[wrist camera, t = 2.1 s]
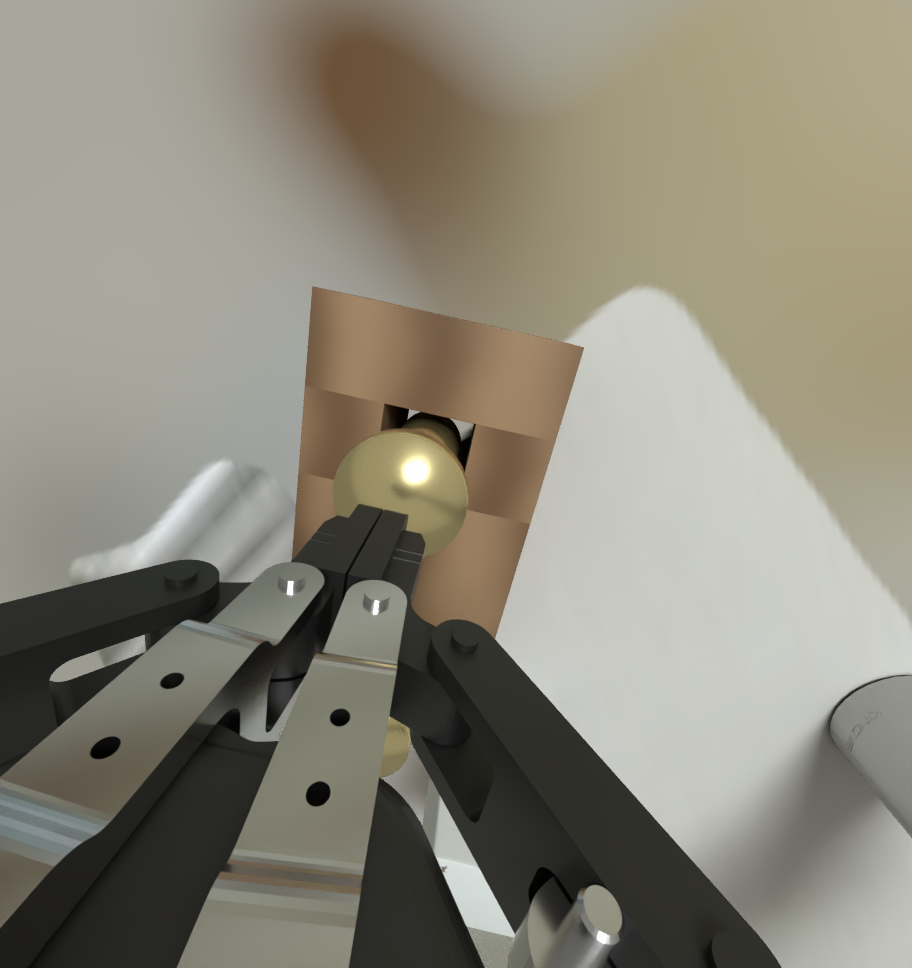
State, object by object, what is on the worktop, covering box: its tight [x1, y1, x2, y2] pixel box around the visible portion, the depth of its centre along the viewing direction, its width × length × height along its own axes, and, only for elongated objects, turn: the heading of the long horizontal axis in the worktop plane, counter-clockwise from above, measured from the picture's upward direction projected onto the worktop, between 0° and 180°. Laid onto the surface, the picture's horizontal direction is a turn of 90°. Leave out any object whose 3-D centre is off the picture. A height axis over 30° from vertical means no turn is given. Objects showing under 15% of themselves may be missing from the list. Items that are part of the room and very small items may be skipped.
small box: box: [422, 776, 515, 938], centre depth 31 cm, size 8×6×13 cm
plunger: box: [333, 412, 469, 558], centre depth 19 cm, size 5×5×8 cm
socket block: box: [292, 287, 584, 744], centre depth 27 cm, size 12×26×8 cm, turn 168°
